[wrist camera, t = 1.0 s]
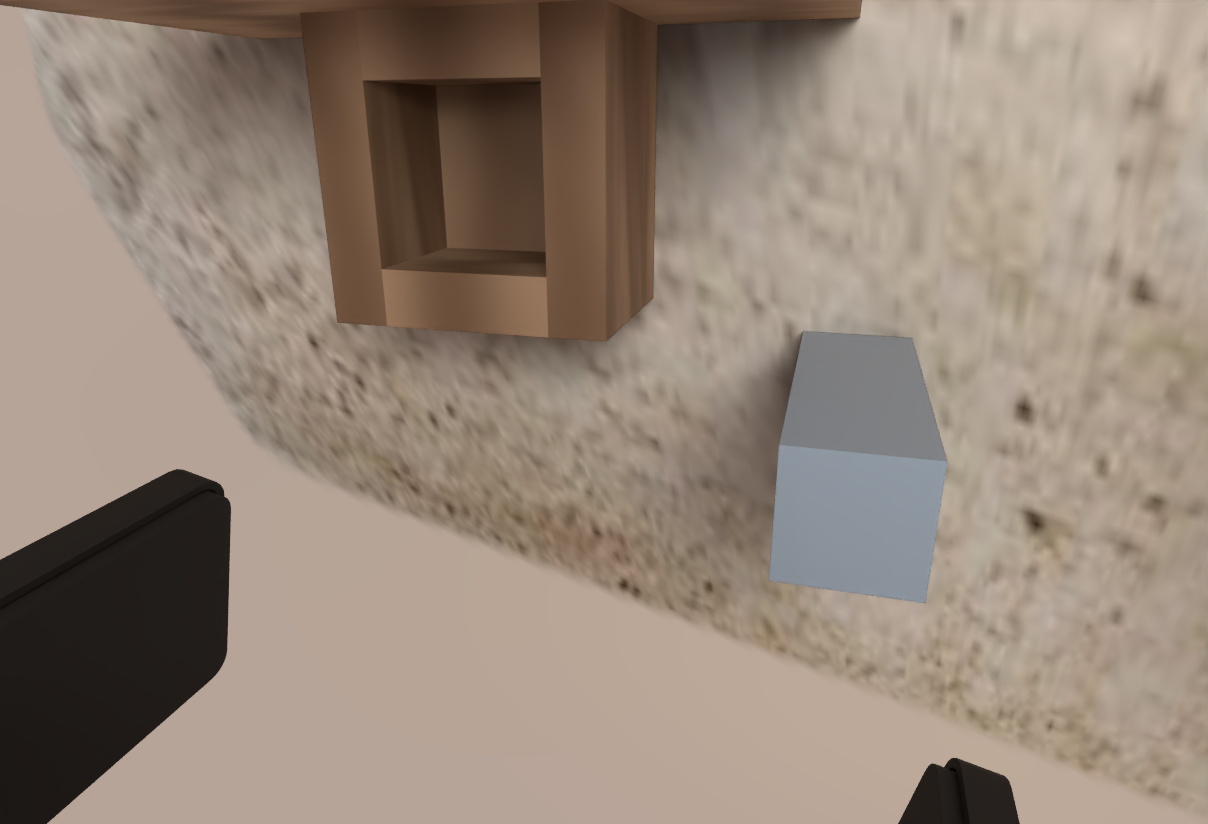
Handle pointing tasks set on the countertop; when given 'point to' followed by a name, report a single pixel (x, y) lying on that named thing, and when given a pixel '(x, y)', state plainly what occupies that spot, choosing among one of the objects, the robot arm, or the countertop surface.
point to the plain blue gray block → (858, 470)
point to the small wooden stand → (478, 147)
